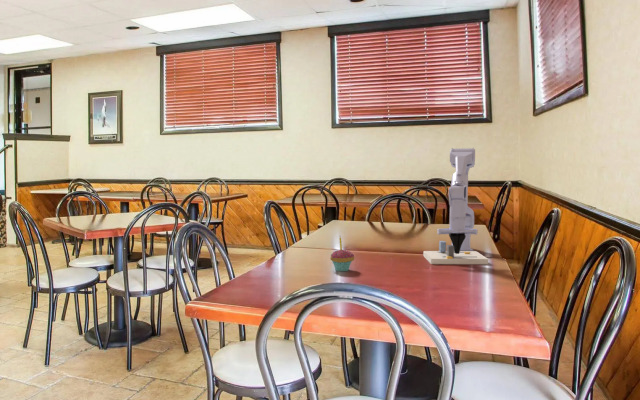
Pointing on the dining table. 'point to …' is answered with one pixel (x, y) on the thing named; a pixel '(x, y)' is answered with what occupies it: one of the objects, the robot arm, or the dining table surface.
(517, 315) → the dining table surface
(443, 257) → the switch board
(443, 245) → the grey rectangular block
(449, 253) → the gray tab
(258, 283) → the dining table surface
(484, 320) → the dining table surface
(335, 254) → the cupcake
